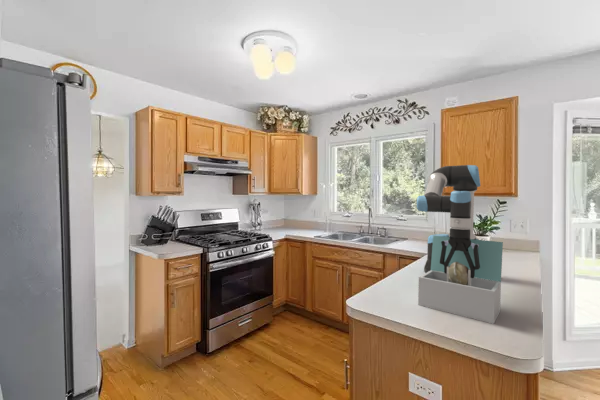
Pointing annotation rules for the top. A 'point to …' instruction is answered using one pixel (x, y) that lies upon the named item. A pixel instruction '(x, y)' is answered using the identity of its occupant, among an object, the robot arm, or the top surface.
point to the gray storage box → (460, 296)
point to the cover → (472, 257)
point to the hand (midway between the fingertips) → (458, 283)
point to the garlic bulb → (458, 273)
